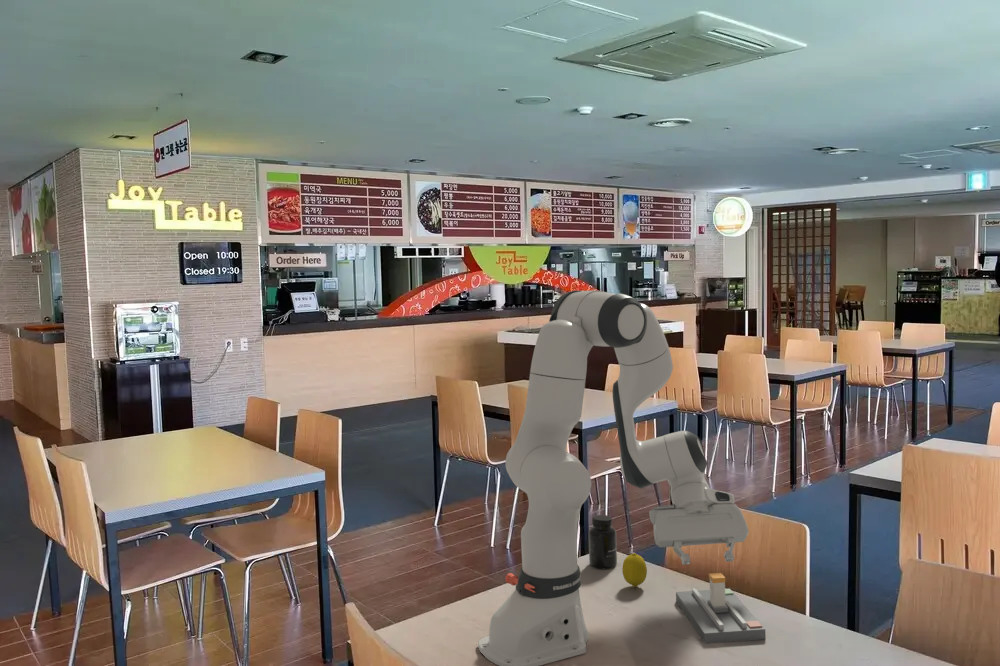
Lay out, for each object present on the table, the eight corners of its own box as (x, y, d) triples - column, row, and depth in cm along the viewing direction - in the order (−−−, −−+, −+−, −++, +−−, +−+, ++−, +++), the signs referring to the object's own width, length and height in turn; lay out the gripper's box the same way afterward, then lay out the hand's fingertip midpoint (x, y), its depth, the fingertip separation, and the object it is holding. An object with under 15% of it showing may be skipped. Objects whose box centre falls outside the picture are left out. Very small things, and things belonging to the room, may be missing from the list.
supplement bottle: (616, 570, 192) (614, 522, 191) (588, 569, 193) (586, 521, 192) (618, 560, 198) (616, 513, 198) (590, 559, 200) (589, 513, 199)
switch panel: (676, 600, 173) (675, 587, 172) (729, 597, 173) (729, 584, 173) (704, 643, 153) (704, 628, 153) (765, 639, 153) (765, 624, 153)
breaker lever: (707, 605, 165) (706, 572, 164) (721, 604, 165) (720, 571, 164) (713, 613, 161) (713, 579, 160) (728, 612, 161) (727, 578, 160)
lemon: (650, 584, 182) (649, 551, 182) (641, 593, 177) (640, 559, 177) (628, 580, 185) (627, 547, 184) (619, 589, 180) (617, 555, 180)
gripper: (649, 499, 174) (662, 558, 165) (740, 493, 175) (758, 552, 166) (645, 513, 179) (657, 571, 170) (733, 507, 180) (750, 565, 171)
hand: (708, 561), depth 168 cm, fingers open, 8 cm apart
